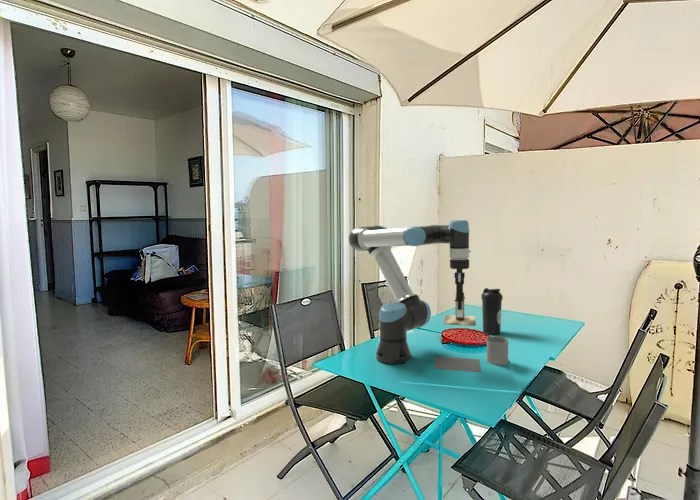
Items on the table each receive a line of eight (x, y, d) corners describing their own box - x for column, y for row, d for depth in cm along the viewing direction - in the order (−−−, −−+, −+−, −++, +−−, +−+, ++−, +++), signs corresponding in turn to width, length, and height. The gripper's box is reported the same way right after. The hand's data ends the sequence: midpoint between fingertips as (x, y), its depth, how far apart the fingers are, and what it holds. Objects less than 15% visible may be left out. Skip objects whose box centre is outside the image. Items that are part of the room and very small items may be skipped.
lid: (444, 324, 158) (443, 295, 157) (445, 316, 169) (445, 289, 168) (475, 326, 155) (475, 296, 154) (475, 318, 166) (474, 290, 165)
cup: (509, 367, 161) (509, 343, 160) (488, 366, 162) (488, 342, 161) (505, 359, 169) (506, 336, 168) (485, 358, 171) (485, 335, 170)
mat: (434, 370, 160) (434, 368, 160) (435, 357, 173) (435, 356, 173) (481, 373, 155) (481, 372, 155) (479, 360, 168) (479, 359, 168)
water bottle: (499, 336, 199) (500, 291, 196) (479, 334, 204) (479, 289, 202) (503, 331, 207) (504, 288, 205) (483, 328, 213) (484, 286, 210)
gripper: (469, 261, 151) (469, 321, 153) (469, 256, 167) (469, 311, 169) (449, 261, 153) (449, 320, 155) (450, 256, 169) (451, 310, 171)
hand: (459, 315), depth 162 cm, fingers closed on lid, 3 cm apart
